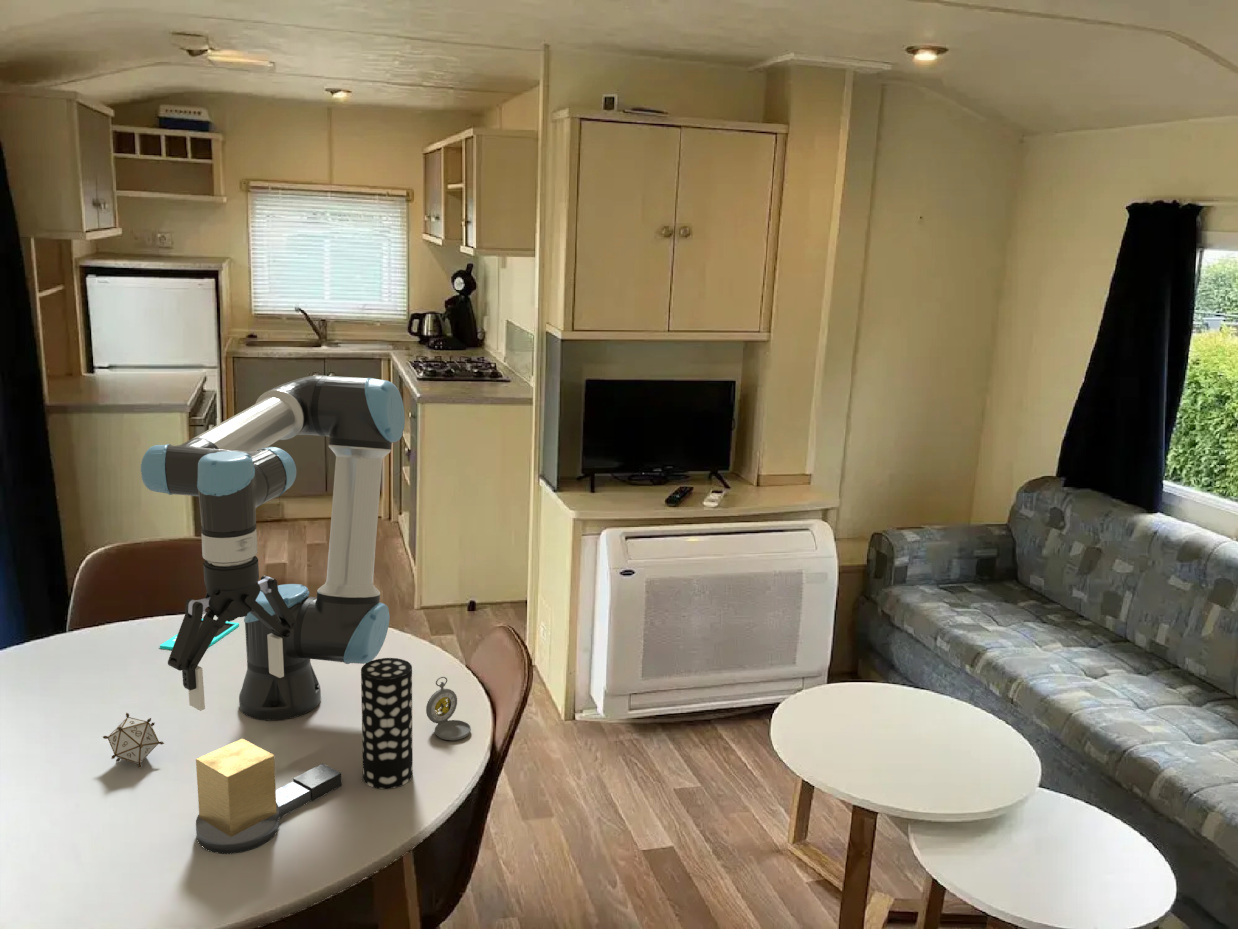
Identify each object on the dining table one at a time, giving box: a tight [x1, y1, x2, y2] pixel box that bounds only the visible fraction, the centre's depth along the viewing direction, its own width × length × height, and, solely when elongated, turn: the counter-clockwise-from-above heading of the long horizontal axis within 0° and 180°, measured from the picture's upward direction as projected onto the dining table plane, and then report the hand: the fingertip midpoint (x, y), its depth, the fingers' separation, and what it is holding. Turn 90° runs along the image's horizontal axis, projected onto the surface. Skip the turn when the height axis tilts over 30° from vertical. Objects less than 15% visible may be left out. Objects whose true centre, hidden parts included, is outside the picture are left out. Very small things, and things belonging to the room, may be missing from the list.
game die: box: [102, 712, 165, 769], centre depth 171 cm, size 9×8×10 cm
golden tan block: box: [195, 738, 277, 837], centre depth 152 cm, size 8×8×10 cm
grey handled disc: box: [195, 763, 343, 855], centre depth 158 cm, size 24×12×8 cm, turn 145°
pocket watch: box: [425, 676, 472, 741], centre depth 186 cm, size 8×8×10 cm
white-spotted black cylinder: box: [360, 657, 414, 790], centre depth 168 cm, size 8×8×20 cm
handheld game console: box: [159, 618, 240, 651], centre depth 223 cm, size 10×16×1 cm, turn 170°
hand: (238, 690), depth 150 cm, fingers open, 13 cm apart
